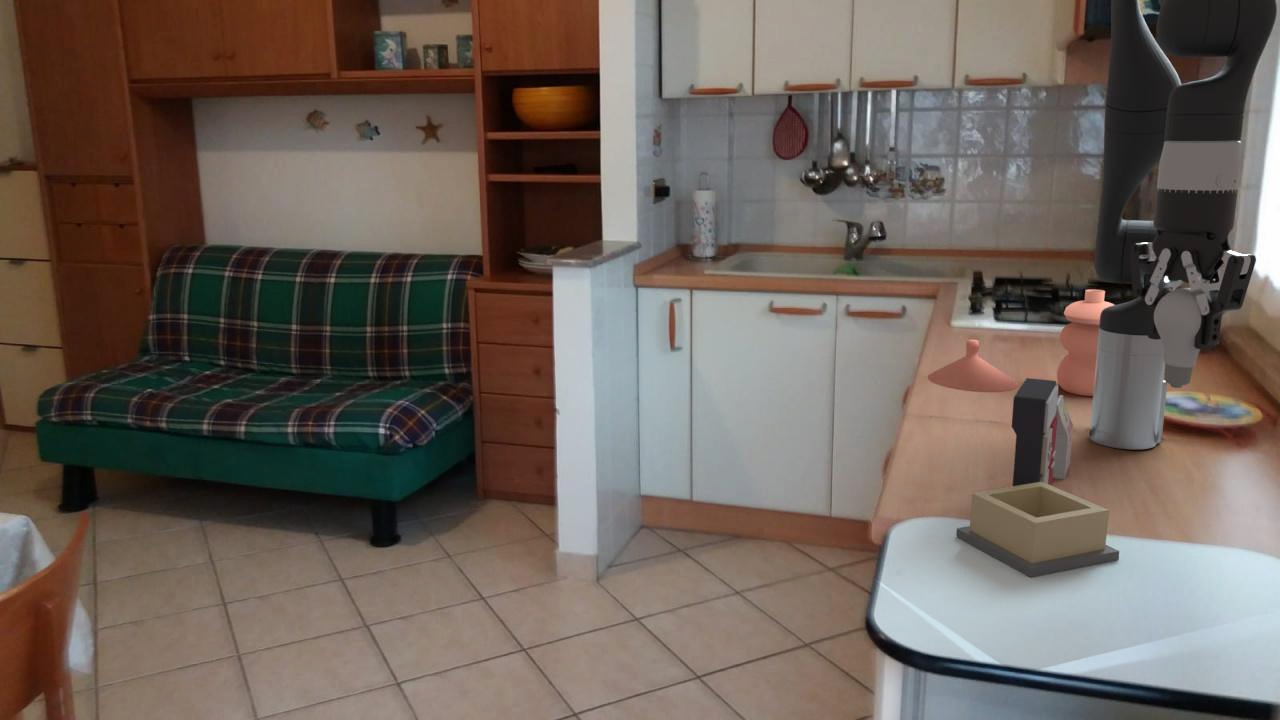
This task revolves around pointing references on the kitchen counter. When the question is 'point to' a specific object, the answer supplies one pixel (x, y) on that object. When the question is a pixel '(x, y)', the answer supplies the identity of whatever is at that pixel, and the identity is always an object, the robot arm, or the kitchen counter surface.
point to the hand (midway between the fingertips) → (1180, 342)
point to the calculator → (1035, 431)
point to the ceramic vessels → (1071, 372)
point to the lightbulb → (1178, 334)
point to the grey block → (1062, 440)
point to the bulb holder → (1038, 529)
